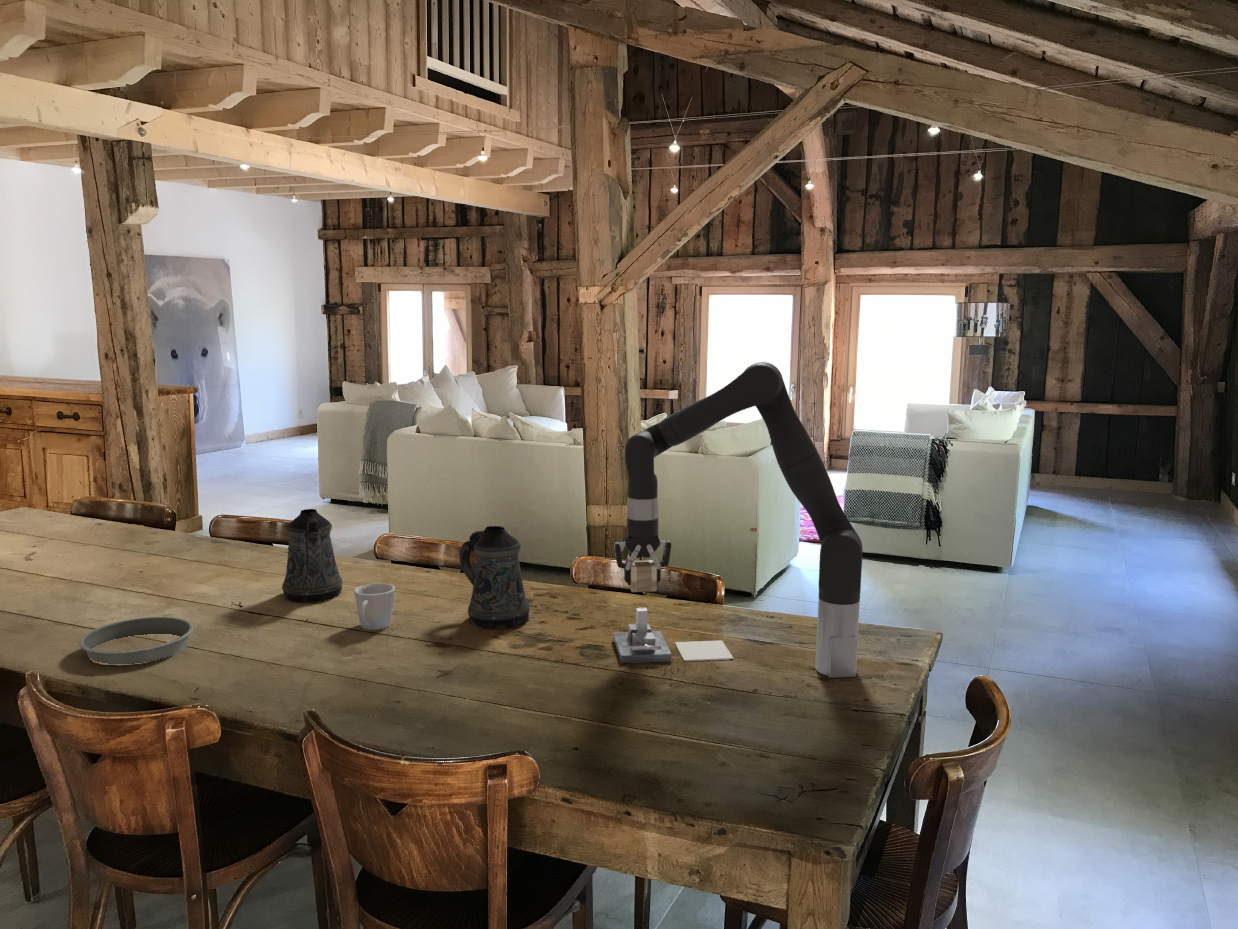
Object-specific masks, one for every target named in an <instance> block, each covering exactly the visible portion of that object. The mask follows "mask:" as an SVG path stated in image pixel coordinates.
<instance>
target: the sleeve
mask: <svg viewBox="0 0 1238 929" xmlns="http://www.w3.org/2000/svg"><path fill="white" fill-rule="evenodd" d="M630 570H631V585H628V587H629V589H630V592H631V593H643V592H657V589H658V588H657V585H658V584H657V566H656V565H655V564H654V562H653V560H652V559H649V560H648V559H647V560H646V559H645V560H635V561H634V562H633V564H632V566H631V568H630Z"/></svg>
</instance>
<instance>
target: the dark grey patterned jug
mask: <svg viewBox="0 0 1238 929" xmlns="http://www.w3.org/2000/svg"><path fill="white" fill-rule="evenodd" d="M285 528H286V533H287V534H288V537H289V540H288V548H287V549H288V550H287V551H288V552H287V560H286V561H287V562H286V572H285V577H284V580H283V583H282V585H281V588H282V592H283V595H284V596H285V597H284V598H285V600H286V601H288V600H289V602H291V601H292V603H298V602H299V603H300V604H305V603H306V604H307V603H313V602H314V603H319V601H321V602H325V601H324V600H326V601H330V600H333V599H335V598H337V597H339V596H340V595H341V594H342V589H343V579H342V577H341V575H340V573H339V569H338V566H337V562H336V558H335V553H334V548H333V543H332V539H331V538H332V537H331V531H332V528H333V524H332V523H331V522H330V521H329V520H328V519H326V518H325V517H324V516H322V515H321V514H320V513H319V512H318V511H317V509H316V508H315V509H314V508H307V509H302V510H300V513H299V515H297V517H295V518H294V519H293V520H291V521H290V522H289V523H288V525H287V526H286V527H285ZM340 593H341V594H340ZM334 597H335V598H334ZM329 599H330V600H329ZM299 603H298V604H299Z"/></svg>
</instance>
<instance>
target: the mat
mask: <svg viewBox="0 0 1238 929" xmlns="http://www.w3.org/2000/svg"><path fill="white" fill-rule="evenodd" d="M674 644H675V648H677V651H678V652H679V655H680V657H681V658H683V659H682V661H683V660H684V661H685V662H706V661H709V660H710V661H731V660H730V659H733V660H734V657H733V655H732V654H731V652H730V651H729V649H728V647H727V645H726V644H725V643H724V641H723V639H722V640H702V641H701V640H699V641H697V640H695V641H675V642H674ZM684 661H683V662H684Z"/></svg>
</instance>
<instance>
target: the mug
mask: <svg viewBox="0 0 1238 929" xmlns="http://www.w3.org/2000/svg"><path fill="white" fill-rule="evenodd" d="M353 594H354V598H355V604H356V608H357V613H358V618H359V619H358V620H359V622H360V623H359V624H360V627H361V628H362V629H364V630H367V631H379V630H380V631H381V630H383V629H387V628H389V627H390V626H391V624H392V620H393V619H392V618H393V613H394V612H393V611H394V610H393V609H394V602H395V594H396V587H395V585H393V584H390V583H389V584H388V583H381V582H379V583H377V582H375V583H367V584H362V585H359V586H357V587H356V588H354V590H353Z"/></svg>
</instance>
